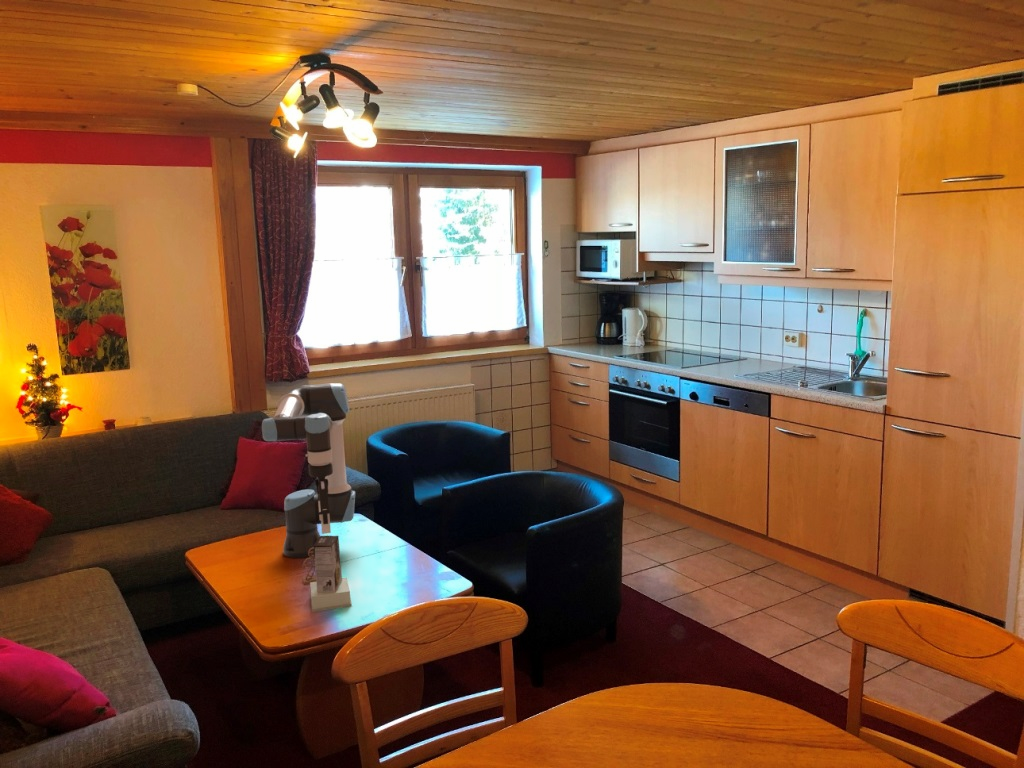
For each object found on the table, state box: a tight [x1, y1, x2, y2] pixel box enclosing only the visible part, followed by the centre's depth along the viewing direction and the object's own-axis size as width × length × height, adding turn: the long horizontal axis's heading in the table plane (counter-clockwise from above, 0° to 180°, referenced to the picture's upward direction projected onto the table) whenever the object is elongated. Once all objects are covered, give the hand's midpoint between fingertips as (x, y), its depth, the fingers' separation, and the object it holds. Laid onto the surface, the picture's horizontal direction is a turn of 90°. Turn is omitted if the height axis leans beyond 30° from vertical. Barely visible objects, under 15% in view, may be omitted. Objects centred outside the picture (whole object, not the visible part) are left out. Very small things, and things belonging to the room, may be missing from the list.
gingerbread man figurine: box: [301, 547, 316, 586], centre depth 285 cm, size 9×4×12 cm, turn 121°
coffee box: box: [314, 535, 343, 593], centre depth 266 cm, size 9×6×16 cm
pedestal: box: [309, 577, 353, 613], centre depth 268 cm, size 13×13×5 cm
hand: (325, 526), depth 264 cm, fingers open, 13 cm apart
